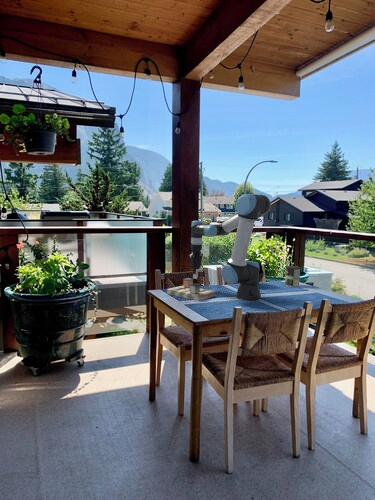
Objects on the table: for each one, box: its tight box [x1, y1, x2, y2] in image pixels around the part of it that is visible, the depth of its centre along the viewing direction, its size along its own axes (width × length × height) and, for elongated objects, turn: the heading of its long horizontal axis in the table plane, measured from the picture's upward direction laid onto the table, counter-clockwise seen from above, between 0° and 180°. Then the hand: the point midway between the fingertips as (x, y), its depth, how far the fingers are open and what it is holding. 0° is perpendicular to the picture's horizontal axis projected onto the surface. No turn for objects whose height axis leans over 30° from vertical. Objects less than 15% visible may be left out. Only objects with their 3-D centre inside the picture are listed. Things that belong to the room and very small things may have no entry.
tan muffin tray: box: [166, 285, 216, 302], centre depth 232 cm, size 26×17×3 cm, turn 50°
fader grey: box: [189, 282, 201, 294], centre depth 224 cm, size 4×5×5 cm
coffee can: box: [284, 265, 301, 288], centre depth 267 cm, size 10×10×14 cm
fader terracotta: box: [182, 277, 194, 288], centre depth 241 cm, size 4×5×5 cm
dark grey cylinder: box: [246, 258, 265, 283], centre depth 264 cm, size 20×20×19 cm
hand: (195, 278), depth 247 cm, fingers closed
